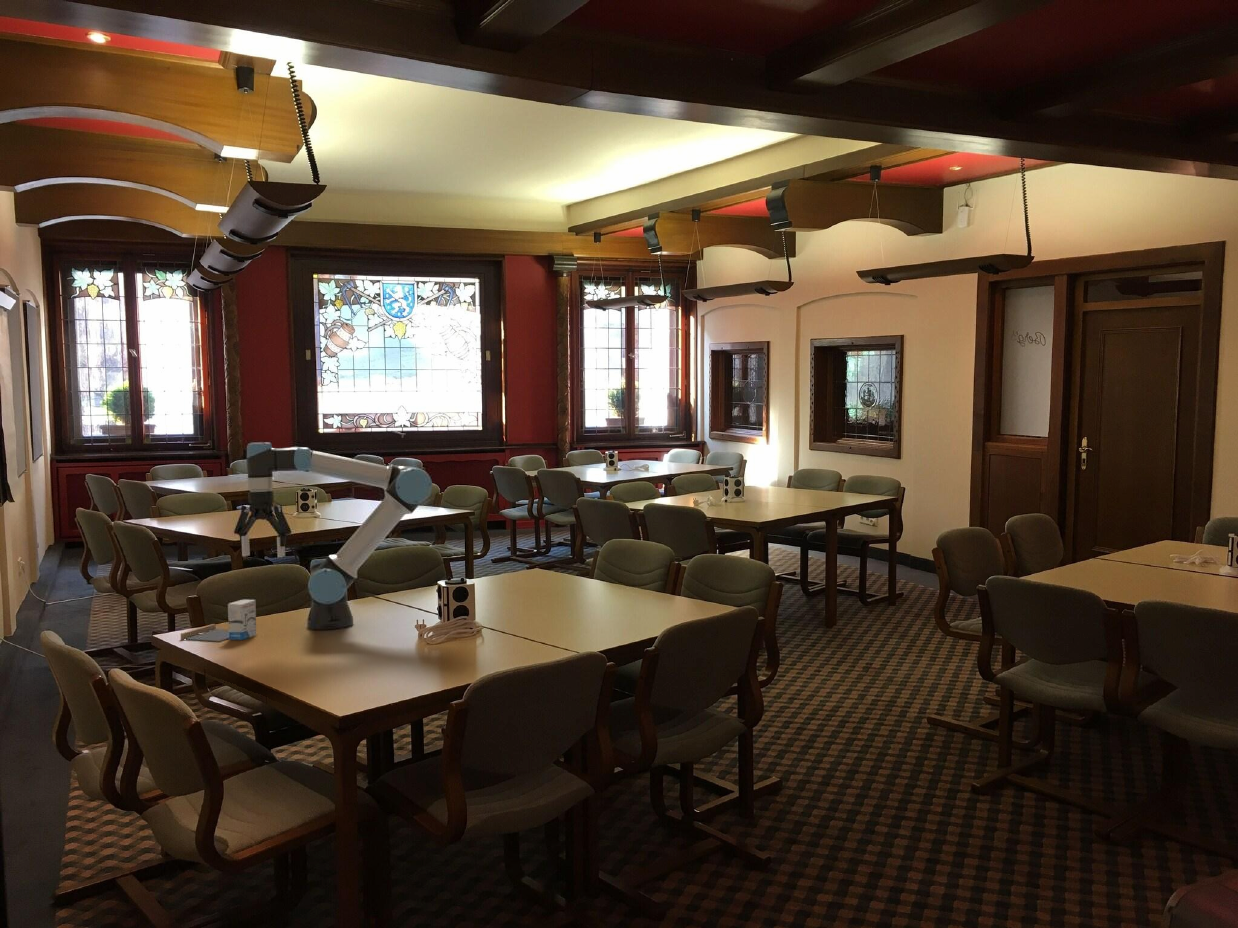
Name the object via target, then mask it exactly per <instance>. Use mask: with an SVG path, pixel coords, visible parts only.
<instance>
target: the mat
mask: <svg viewBox="0 0 1238 928" xmlns="http://www.w3.org/2000/svg"><path fill="white" fill-rule="evenodd" d="M216 626H217V625H216V623H212V624H208V625H205V626H202V627H198V628H195V629H192V630H188V631H186V632H182V633H180V640H181V639H186V640H185V641H193V642H195V641H197V642H211V643H212V642H213V643H221V642H223V641H224V642H225V641H227V640H229V628H227V629H225V628H216ZM210 630H211V631H210ZM203 632H204V633H203ZM199 633H203V634H199Z"/></svg>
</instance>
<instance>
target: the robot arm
mask: <svg viewBox="0 0 1238 928" xmlns="http://www.w3.org/2000/svg"><path fill="white" fill-rule="evenodd" d="M246 465H247V466H246V468H247V490H248V491H249V492H248V503H249V505H248V504H247V505H245V504H244V505H242V506H241V510H240V514H239V517H238V520H237V523H236V525H235V528H234V530H233V533H234V534H235V535H238V536H239V545H240V546H241V555H242V556H241V557H248V556H250V554H251V552H250V550H251V547H250V535H248V534H249V532H250V531H251V529H252V527H253V525H254V524H255V523H256V521H257V520H261V521H262V520H263V521H264V520H266V522H268V523H269V524H270V525H271V527H272V528H273V530H274V531H275V532H276V534H277V535H278V536H277V537H276V546H277V547H276V548H277V549H276V551H277V558H282V557H285V556H286V549H285V548H286V547H287V536H288V535H291V534H292V529H291V527H290V525H289V522H288V521H287V519H286V516H285V514H284V511H283V507H282V505H280V504H278V505H274V504H273V502H274V500H275V499H274V491H273V489H274V479H273V477H274V476H273V472H297V471H298V472H306V473H311V474H315V475H321V476H324V477H330V478H335V479H338V480H339V479H340V480H343V481H344V480H345V481H349V482H354V483H358V484H363V485H368V486H372V487H378V488H382V489H383V490H384V498H383V500H382V501H381V502H380V503H379V504H378V505H377V507H375V509H374V510H373V511H371V513H370V515H369V516H368V517H367V518H366V519H365V521H363V523H362V524H361V525H360V526H359V527H358V528H357V529H356V530H355V532H354V533H352V535H351V537H349V539H348V540H347V541H346V542H345V543H344V544H343V546H342V547H341V548H340V549H339V550H338V551H337V553H335V554H329V555H328V556H327V557H326V558H321V559H312V560H311V562H310V566H309V569H310V577H309V580H308V582H307V589H308V592H309V595H310V597H311V607H310V609H309V613H308V617H307V620H306V627H307V629H309V630H316V631H322V630H324V631H328V630H338V629H343V628H347V627H348V628H349V627H351V626H353V625H354V616H353V614H352V611H351V609H350V608H351V607H350V605H349V602H348V589H349V588H350V587H351V585H352V584H353V583H354V581H356V579H357V578H358V570H359V568H361V566H362V565H363V564H364V563H365V561H366V560H368V559H369V557H370V556H371V555H372V553H373V552H374V551H375V550H376V549H377V548H378V546H379V545H380V544H381V543H382V542H383V541H384V540H385V539H386V537H387V536H388V535H389V534H390V532H392V531H393V529H394V528H395V527H396V525H398V523H399V522H400V521H401V519H403V517H404V516H406V515H409V514H410V515H411V514H413V513H414V512H415V510H417V508H418V507H419V506H420V504H421V503H424V502H425V501H426V500H427V499H428V498H429V497H430V496H431V493H432V489H433V481H432V479H431V478H432V477H431V476H430V474H428V473H427V471H426V470H424V469H423V468H420V467H418V466H412V465H411V466H405V465H398V464H392V463H391V464H389V465H383V464H380V463H379V464H378V463H373V462H369V461H363V460H359V459H354V458H349V457H345V456H340V455H336V454H331V453H326V452H322V451H316V450H311V448H309V447H302V446H290V447H282V448H281V447H279V448H276V447H273V446H272V443H271V442H267V441H266V442H250V443H248V444H247V446H246Z"/></svg>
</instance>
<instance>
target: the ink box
mask: <svg viewBox="0 0 1238 928" xmlns="http://www.w3.org/2000/svg"><path fill="white" fill-rule="evenodd" d="M256 606H257V605H256V599H239V600H237V601H233V602H229V603H228V604H227V614H228V615H227V618H228V629H229V639H228V641H243V640H247V639H249V638H252V637H255V636H257V635H258V634H257V611H256V610H257V609H256Z"/></svg>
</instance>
